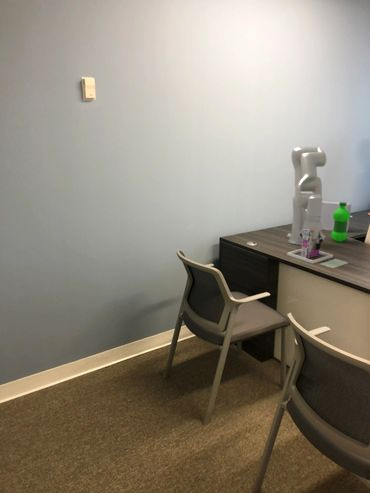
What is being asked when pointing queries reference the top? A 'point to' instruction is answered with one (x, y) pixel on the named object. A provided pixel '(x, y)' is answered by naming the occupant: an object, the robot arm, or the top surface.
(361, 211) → the top surface
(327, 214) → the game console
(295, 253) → the grey square frame
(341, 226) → the plastic bottle
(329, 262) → the rubber mat
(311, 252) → the candy bar box
